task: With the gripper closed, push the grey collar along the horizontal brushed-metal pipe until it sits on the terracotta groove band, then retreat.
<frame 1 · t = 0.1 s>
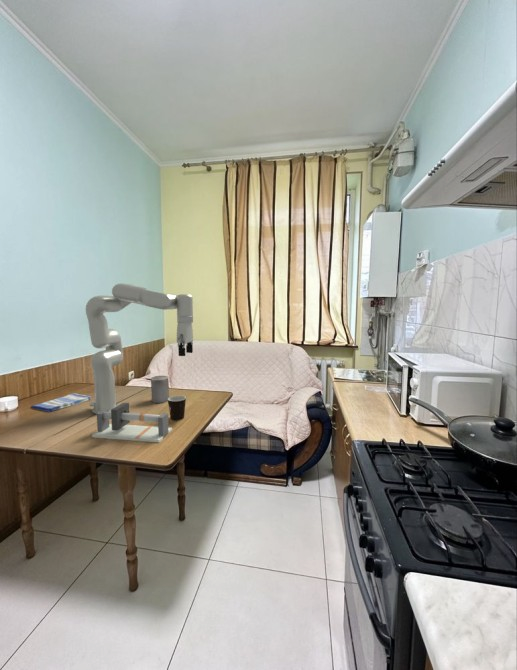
hand: (185, 354, 145), 31 cm above the table, fingers open, 9 cm apart
pipe rig: (133, 433, 127), on the table
coffee mug: (176, 419, 143), on the table
pillar candle: (160, 400, 170), on the table
collar: (120, 416, 127), point 7 cm above the table, slide at 0.0 cm
dish towel: (62, 404, 165), on the table
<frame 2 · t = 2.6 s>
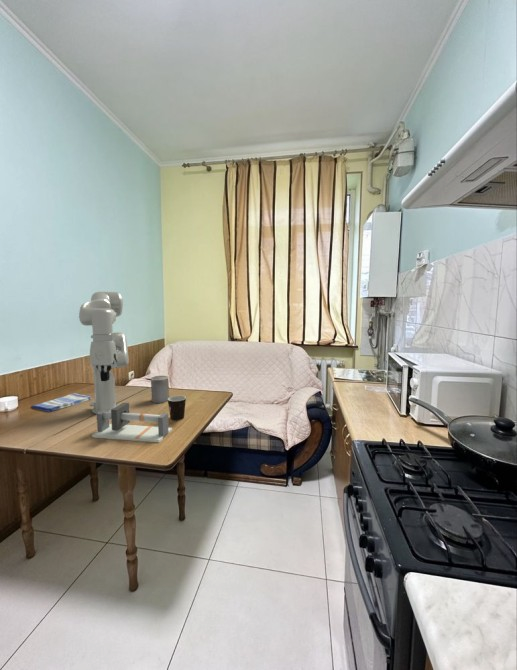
hand: (105, 380, 126), 23 cm above the table, fingers closed
nothing on the table moved.
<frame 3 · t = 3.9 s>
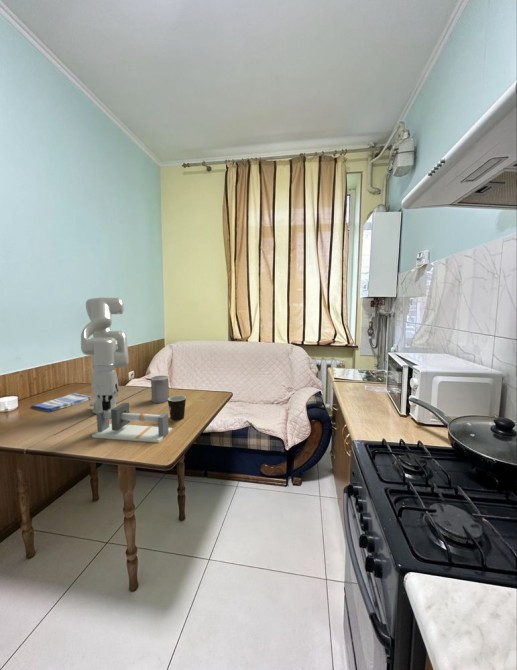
hand: (106, 409, 127), 10 cm above the table, fingers closed
nothing on the table moved.
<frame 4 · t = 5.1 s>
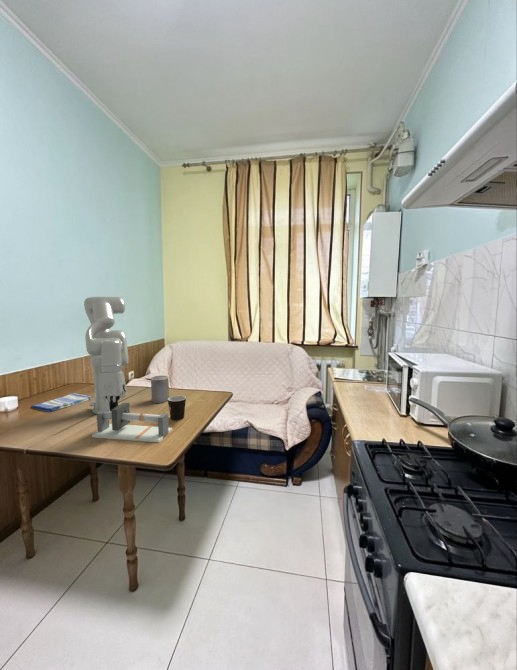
hand: (114, 410, 127), 10 cm above the table, fingers closed
collar: (121, 416, 127), point 7 cm above the table, slide at 0.2 cm, touching gripper
everything else where it was.
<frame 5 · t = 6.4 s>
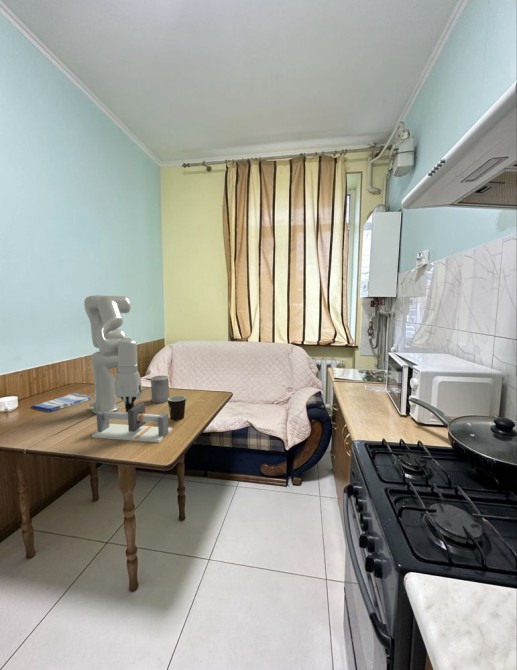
hand: (129, 411, 126), 10 cm above the table, fingers closed
collar: (136, 417, 126), point 7 cm above the table, slide at 7.6 cm, touching gripper
everything else where it was.
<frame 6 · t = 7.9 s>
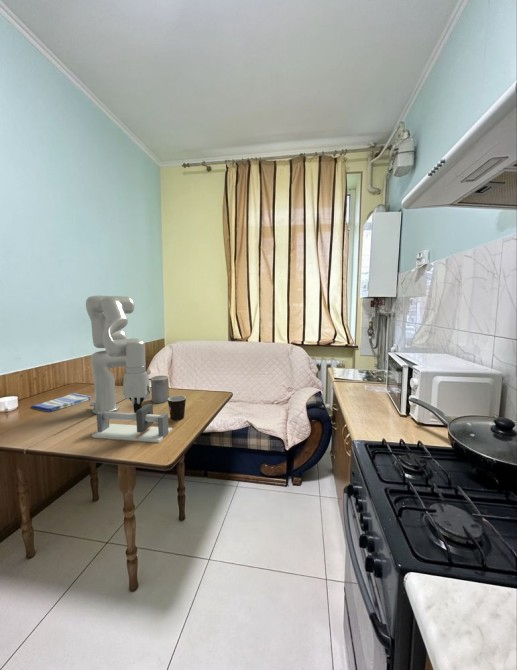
hand: (137, 411, 125), 10 cm above the table, fingers closed
collar: (145, 417, 125), point 7 cm above the table, slide at 11.3 cm, touching gripper
everything else where it was.
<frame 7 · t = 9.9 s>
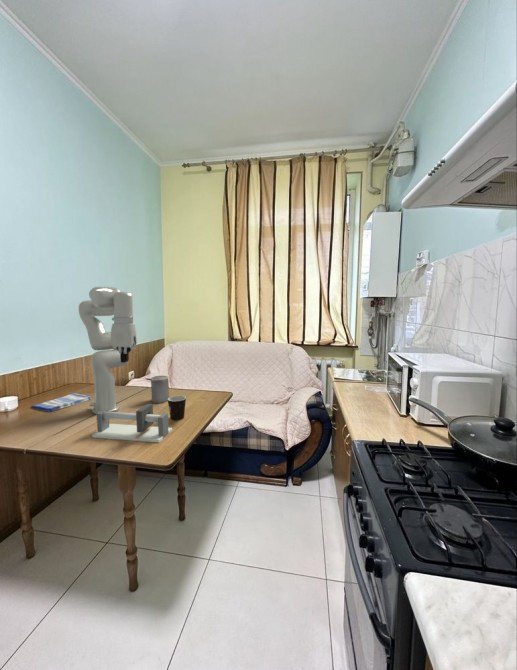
hand: (124, 361, 130), 30 cm above the table, fingers closed
collar: (145, 417, 125), point 7 cm above the table, slide at 11.3 cm
everything else where it was.
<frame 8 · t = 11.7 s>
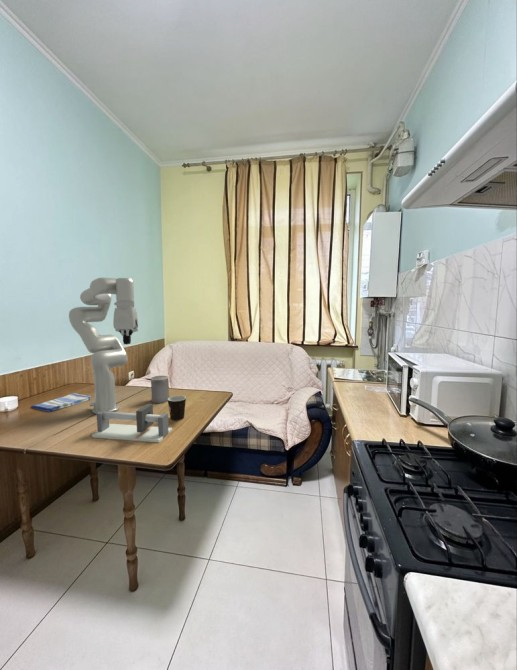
hand: (127, 343, 138), 37 cm above the table, fingers closed
nothing on the table moved.
at the end: collar slide at 11.3 cm; collar moved 11.3 cm from its start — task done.
